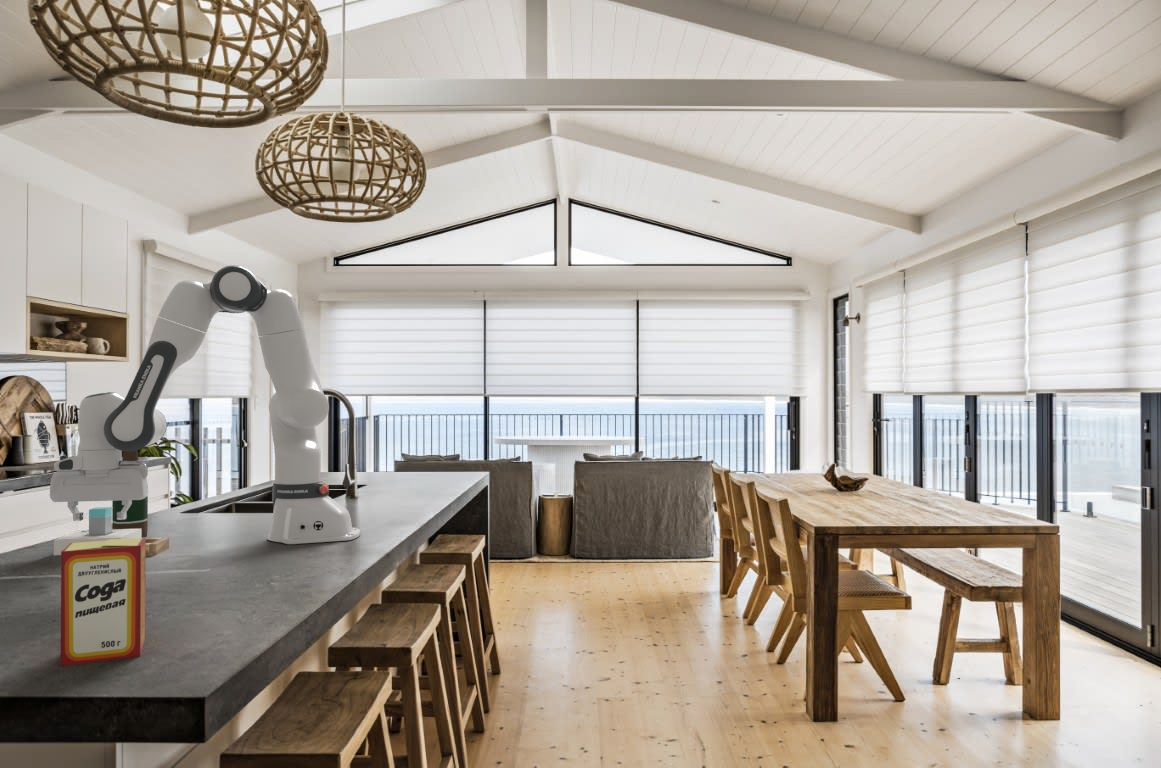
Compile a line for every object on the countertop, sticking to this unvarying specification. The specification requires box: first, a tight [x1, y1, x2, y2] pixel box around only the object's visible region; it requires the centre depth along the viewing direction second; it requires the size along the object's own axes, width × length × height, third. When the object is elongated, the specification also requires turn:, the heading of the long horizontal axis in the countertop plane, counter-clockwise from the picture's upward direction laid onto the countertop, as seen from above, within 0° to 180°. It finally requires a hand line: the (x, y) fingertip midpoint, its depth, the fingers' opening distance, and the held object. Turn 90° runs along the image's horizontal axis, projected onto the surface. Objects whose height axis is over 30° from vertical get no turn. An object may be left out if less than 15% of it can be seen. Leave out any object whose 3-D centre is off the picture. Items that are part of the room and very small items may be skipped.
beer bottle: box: [111, 450, 149, 538], centre depth 196 cm, size 8×8×24 cm
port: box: [53, 529, 142, 556], centre depth 181 cm, size 14×12×4 cm
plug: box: [88, 506, 112, 536], centre depth 181 cm, size 4×4×9 cm
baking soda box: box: [59, 537, 147, 667], centre depth 110 cm, size 10×6×16 cm
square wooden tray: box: [145, 537, 170, 557], centre depth 177 cm, size 8×8×3 cm
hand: (100, 519), depth 181 cm, fingers open, 8 cm apart
